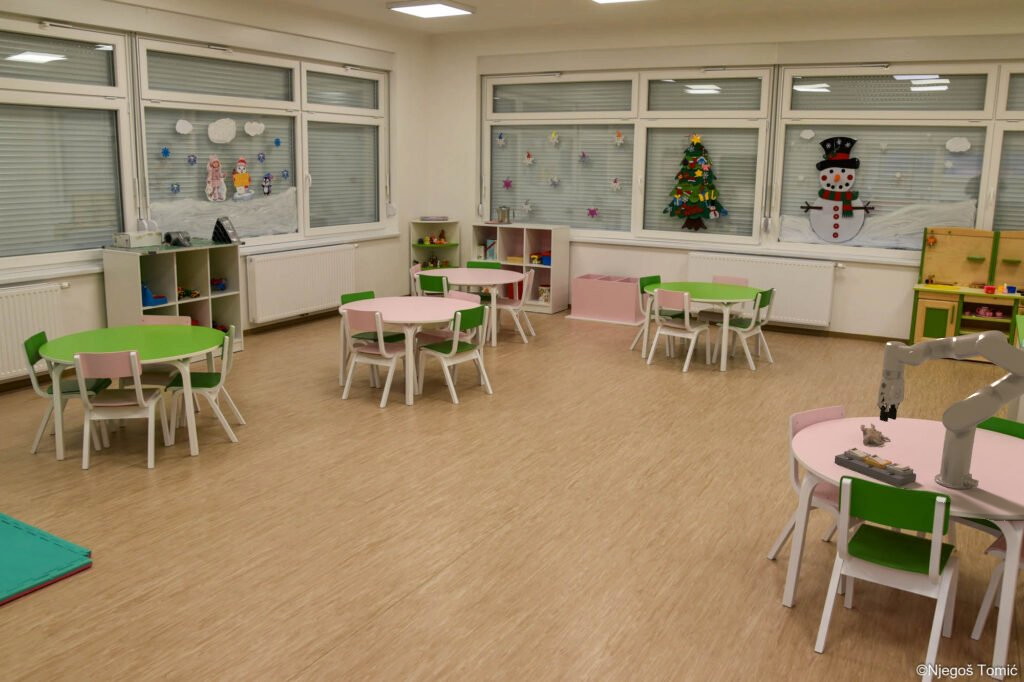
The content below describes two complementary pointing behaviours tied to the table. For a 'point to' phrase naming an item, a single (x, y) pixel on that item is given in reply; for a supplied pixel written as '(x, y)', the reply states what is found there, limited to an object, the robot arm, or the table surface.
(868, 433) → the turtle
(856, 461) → the rocker switch panel
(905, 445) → the table surface
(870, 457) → the rocker middle
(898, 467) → the rocker
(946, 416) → the robot arm
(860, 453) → the rocker
